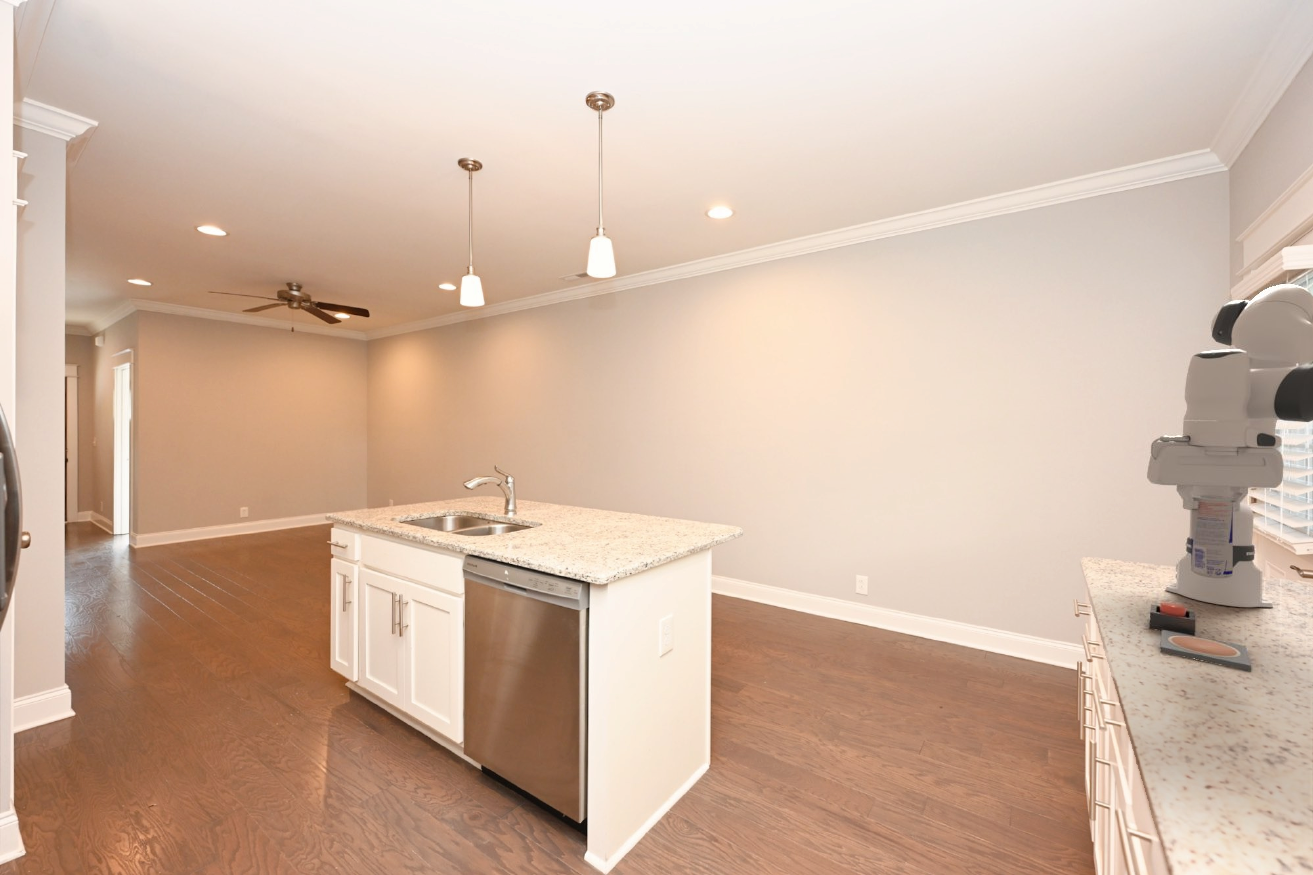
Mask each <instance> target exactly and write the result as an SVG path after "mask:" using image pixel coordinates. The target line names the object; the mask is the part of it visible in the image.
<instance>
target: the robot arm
mask: <svg viewBox="0 0 1313 875" xmlns="http://www.w3.org/2000/svg"><path fill="white" fill-rule="evenodd" d="M1210 324H1211V325H1210V330H1211V331H1210V332H1211V338H1212V339H1213V340H1214V341H1215V342H1216V343H1217V344H1218V343H1219V344H1221V345H1225V346H1230V347H1231V346H1234V347H1235V348H1231V349H1230V348H1228V349H1225V348H1224V349H1214V350H1207V351H1201V352H1198V353H1196V354H1194V355H1192V357H1191V358H1190V362H1189V365H1188V367H1187V373H1186V378H1185V386H1184V387H1185V388H1184V401H1185V403H1186V411H1185V415H1184V417H1183V420H1182V421H1183V422H1182V423H1183V424H1182V425H1183V426H1182V435H1176V436H1175V435H1174V436H1170V435H1161V436H1160V437H1158V438H1156V439H1154V441H1152V442H1151V445H1150V458H1149V461H1148V467H1147V472H1146V478H1147V480H1148V481H1149V482H1150V483H1151V484H1155V485H1158V486H1159V485H1160V486H1176V492H1177V493H1178V495H1179V496H1180V497H1181V500H1182V508H1183V510H1186V511H1189V515H1190V516H1189V536H1188V537H1187V538H1186V543H1185V546H1186V548H1185V549H1186V550H1185V551H1186V552H1187V553H1186V554H1185V555H1184V556H1182V557H1181V558H1180V559H1178V560H1177V562H1176V565H1175V572H1176V574H1175V580H1174V581H1173V582H1171V583H1169V584H1168V585H1166V587H1165V590H1166V591H1167V592H1170V593H1175V594H1177V595H1181V596H1182V597H1183V596H1184V597H1186V598H1190V599H1194V600H1195V601H1201V602H1205V603H1210V604H1214V605H1215V604H1216V605H1219V606H1220V605H1222V606H1227V607H1228V606H1229V607H1238V608H1258V607H1259V608H1273V607H1274V605H1273V604H1274V603H1273V602H1272V601H1271V600H1269V599H1268V598H1266V597H1265V596H1263V570H1261V568H1259V567H1258V566H1257V565H1256V564H1255V563H1254V562H1253V561H1254V560H1255V555H1256V550H1255V545H1254V544H1253V536H1254V535H1253V534H1254V518H1255V516H1254V512H1253V509H1252V508H1251V507H1250V506H1249V505H1248V504H1247V502H1246V500H1245V498H1246V497H1247V496H1248V494H1249V489H1250V488H1260V489H1261V488H1262V489H1263V488H1264V489H1276V488H1279V486H1280V485H1281V484H1282V483H1283V480H1284V459H1283V455H1282V453H1281V451H1280V450H1278V448H1280V447H1281V446H1282V442H1283V441H1282V439H1283V438H1282V437H1281V436H1279V435H1276V426H1277V423H1278V422H1277V421H1285V422H1286V421H1287V422H1299V423H1300V422H1302V423H1310V422H1313V294H1312V292H1310V291H1309V290H1308V289H1306V288H1304V287H1302V286H1299V285H1295V284H1279V285H1278V284H1277V285H1276V286H1274V285H1273V286H1272V287H1269V288H1267V289H1264V290H1263V291H1261V292H1259V294H1257V295H1256V296H1255V297H1254V298H1253V299H1252V300H1248V299H1245V300H1244V299H1243V300H1233V301H1229V302H1228V303H1226V304H1223V305H1222V307H1221V308H1220V309H1219V310H1218V311H1217V312H1216V313H1215V315H1214V317H1213V319H1212V321H1211V323H1210ZM1193 495H1216V496H1226V497H1231V498H1232V500H1231V501H1232V503H1233V575H1232V576H1231V577H1229V578H1210V577H1204V576H1200V575H1197V574H1195V573H1194V572H1193V571H1191V510H1198V505H1199V501H1196V500H1193V498H1192V496H1193Z"/></svg>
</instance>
